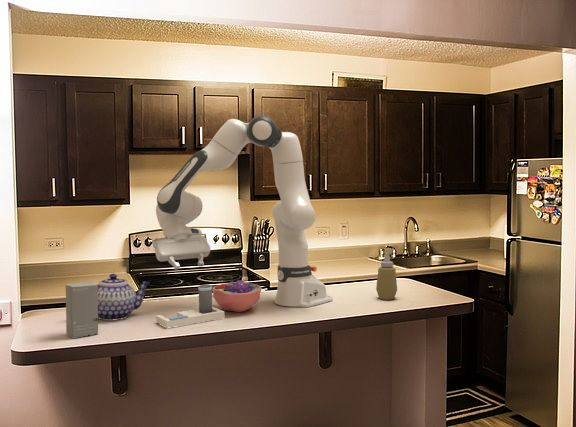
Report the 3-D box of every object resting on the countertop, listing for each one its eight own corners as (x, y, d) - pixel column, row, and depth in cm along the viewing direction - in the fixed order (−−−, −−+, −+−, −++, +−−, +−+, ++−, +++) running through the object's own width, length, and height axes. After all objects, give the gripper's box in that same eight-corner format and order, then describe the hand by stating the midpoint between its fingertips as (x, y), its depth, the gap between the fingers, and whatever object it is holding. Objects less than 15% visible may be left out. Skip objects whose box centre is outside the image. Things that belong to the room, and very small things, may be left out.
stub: (208, 315, 207) (208, 284, 206) (215, 318, 203) (214, 286, 202) (196, 317, 204) (195, 285, 203) (202, 320, 200) (202, 288, 199)
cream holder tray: (212, 313, 209) (212, 305, 209) (224, 318, 202) (224, 310, 202) (156, 323, 197) (156, 314, 197) (166, 328, 190) (166, 319, 190)
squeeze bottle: (397, 301, 226) (397, 254, 225) (375, 300, 227) (376, 254, 226) (396, 296, 234) (397, 251, 233) (376, 295, 235) (376, 250, 234)
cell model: (250, 302, 226) (250, 272, 225) (268, 314, 208) (267, 282, 207) (207, 306, 220) (206, 275, 219) (221, 319, 202) (220, 286, 201)
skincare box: (72, 339, 179) (70, 287, 178) (65, 333, 185) (63, 283, 184) (100, 334, 184) (98, 284, 183) (92, 329, 190) (91, 280, 189)
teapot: (75, 326, 194) (74, 280, 193) (74, 314, 208) (73, 272, 207) (154, 318, 203) (152, 275, 201) (148, 308, 217) (147, 267, 216)
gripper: (152, 233, 211) (164, 264, 204) (204, 229, 223) (217, 258, 216) (148, 244, 215) (159, 275, 208) (199, 240, 227) (211, 269, 220)
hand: (189, 266), depth 212 cm, fingers open, 8 cm apart
